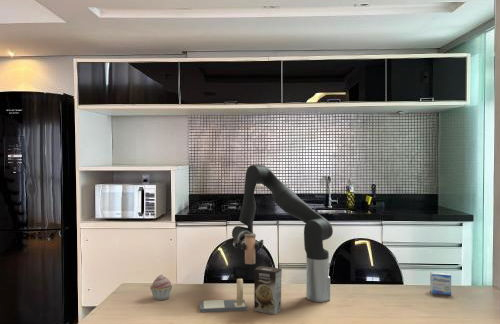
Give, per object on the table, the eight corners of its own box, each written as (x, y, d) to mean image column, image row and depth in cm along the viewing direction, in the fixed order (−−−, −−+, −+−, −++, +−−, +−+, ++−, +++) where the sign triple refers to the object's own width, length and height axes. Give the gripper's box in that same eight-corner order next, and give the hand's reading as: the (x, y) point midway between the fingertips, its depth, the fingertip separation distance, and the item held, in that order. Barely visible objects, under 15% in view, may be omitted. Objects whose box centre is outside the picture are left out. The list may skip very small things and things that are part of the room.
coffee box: (253, 311, 153) (253, 268, 153) (260, 305, 158) (260, 265, 158) (275, 315, 148) (275, 271, 148) (281, 309, 154) (282, 268, 154)
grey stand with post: (244, 302, 162) (244, 274, 162) (246, 310, 153) (246, 281, 153) (199, 304, 160) (199, 276, 160) (199, 312, 151) (199, 282, 151)
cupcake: (174, 300, 164) (174, 276, 164) (151, 303, 161) (151, 278, 161) (170, 293, 173) (170, 270, 173) (148, 296, 170) (148, 272, 170)
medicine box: (431, 293, 174) (431, 273, 174) (430, 290, 178) (430, 271, 178) (451, 295, 172) (451, 275, 172) (449, 292, 176) (449, 272, 176)
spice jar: (254, 261, 171) (254, 233, 171) (256, 264, 166) (256, 234, 166) (244, 261, 170) (243, 233, 170) (245, 264, 166) (245, 235, 166)
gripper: (230, 232, 182) (233, 239, 165) (261, 231, 183) (267, 238, 166) (230, 248, 181) (233, 257, 165) (261, 247, 183) (267, 256, 166)
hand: (250, 247), depth 166 cm, fingers closed on spice jar, 4 cm apart
